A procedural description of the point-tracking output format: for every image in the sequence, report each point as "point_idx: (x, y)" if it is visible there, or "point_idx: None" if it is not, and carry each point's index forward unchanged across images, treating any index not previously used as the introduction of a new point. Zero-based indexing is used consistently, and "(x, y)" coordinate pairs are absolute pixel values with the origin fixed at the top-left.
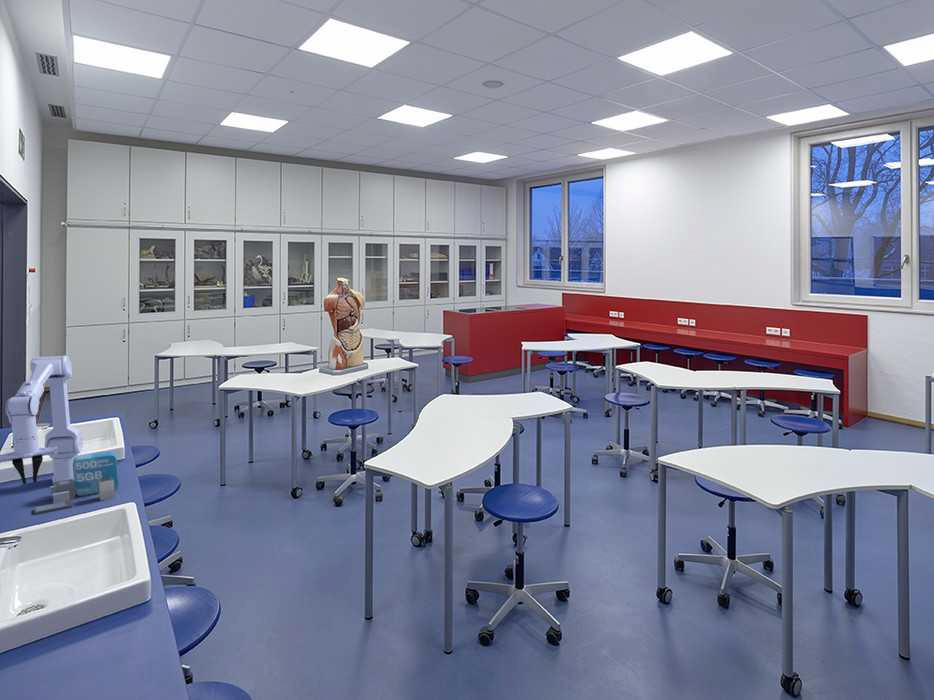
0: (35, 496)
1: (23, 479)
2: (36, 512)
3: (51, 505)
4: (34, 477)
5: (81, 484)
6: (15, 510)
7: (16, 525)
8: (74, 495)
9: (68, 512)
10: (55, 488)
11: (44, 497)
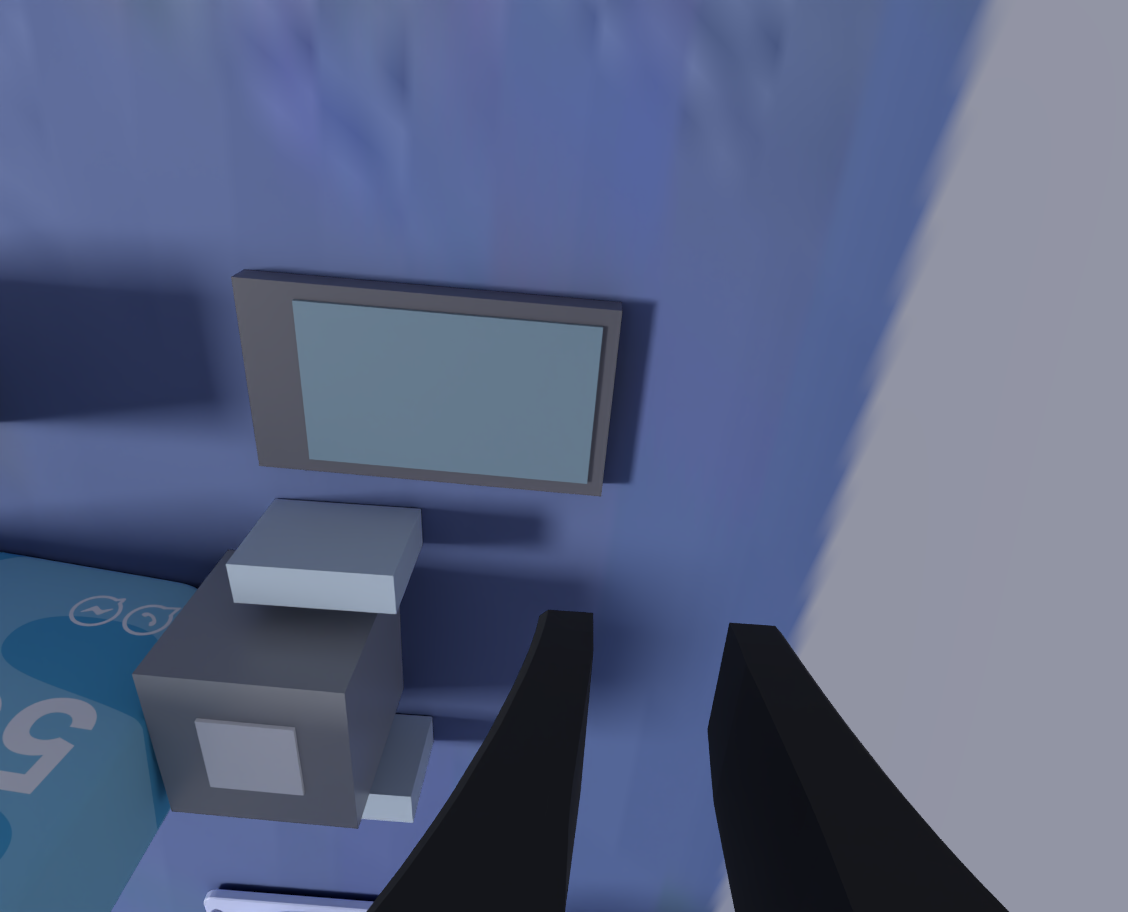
0: None
1: (799, 693)
2: (605, 311)
3: (440, 429)
4: (567, 677)
5: (94, 667)
6: (749, 577)
7: (879, 29)
8: (221, 571)
9: (269, 92)
10: (349, 674)
11: (486, 733)
